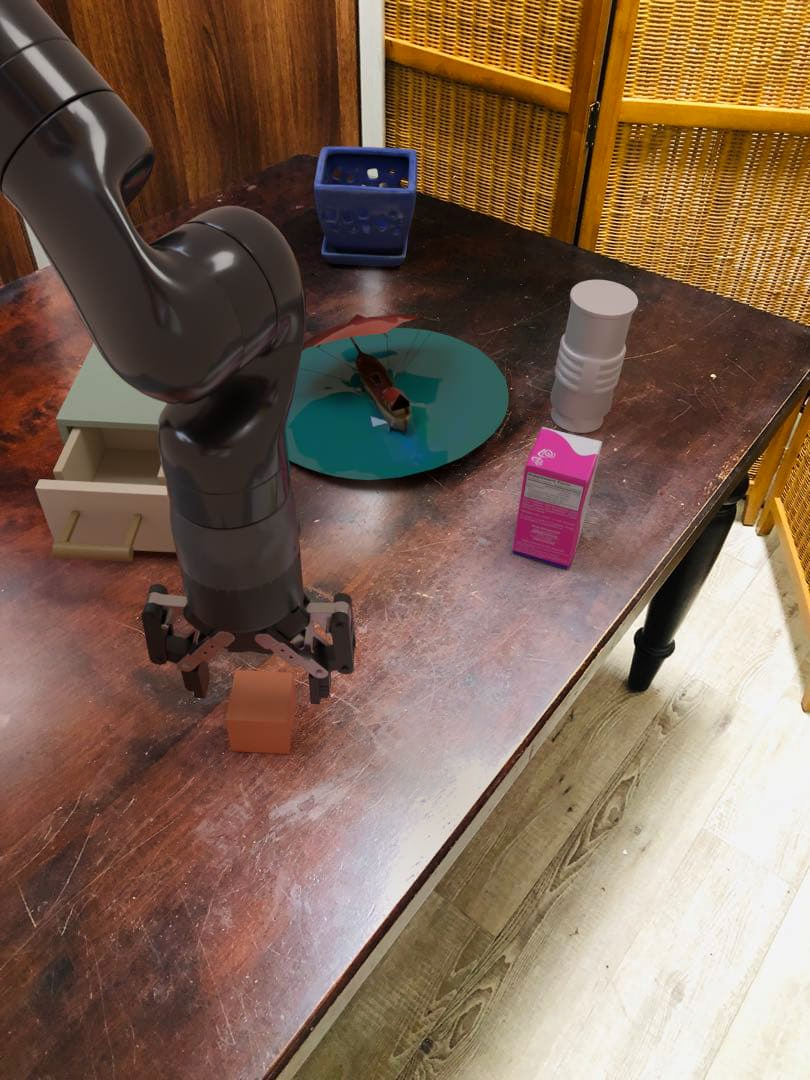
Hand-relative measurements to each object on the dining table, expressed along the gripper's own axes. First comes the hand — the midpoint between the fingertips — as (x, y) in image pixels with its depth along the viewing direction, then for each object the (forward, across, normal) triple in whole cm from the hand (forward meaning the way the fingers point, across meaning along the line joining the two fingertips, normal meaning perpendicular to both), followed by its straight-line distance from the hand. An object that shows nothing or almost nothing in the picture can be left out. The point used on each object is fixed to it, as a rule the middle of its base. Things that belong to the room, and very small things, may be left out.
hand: (260, 691), depth 66 cm
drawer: (+4, -16, +22) cm, 27 cm away
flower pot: (+5, +3, +77) cm, 77 cm away
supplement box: (+5, +24, +22) cm, 33 cm away
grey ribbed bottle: (+5, +29, +42) cm, 51 cm away
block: (+5, 0, 0) cm, 5 cm away
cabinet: (+5, -16, +33) cm, 37 cm away
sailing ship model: (+5, +7, +42) cm, 43 cm away
